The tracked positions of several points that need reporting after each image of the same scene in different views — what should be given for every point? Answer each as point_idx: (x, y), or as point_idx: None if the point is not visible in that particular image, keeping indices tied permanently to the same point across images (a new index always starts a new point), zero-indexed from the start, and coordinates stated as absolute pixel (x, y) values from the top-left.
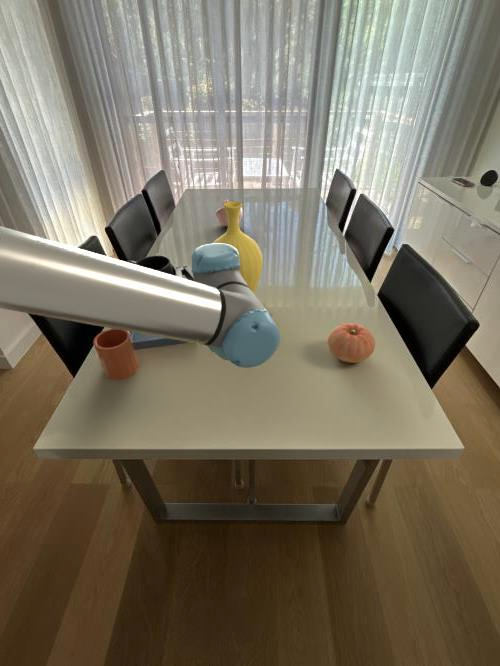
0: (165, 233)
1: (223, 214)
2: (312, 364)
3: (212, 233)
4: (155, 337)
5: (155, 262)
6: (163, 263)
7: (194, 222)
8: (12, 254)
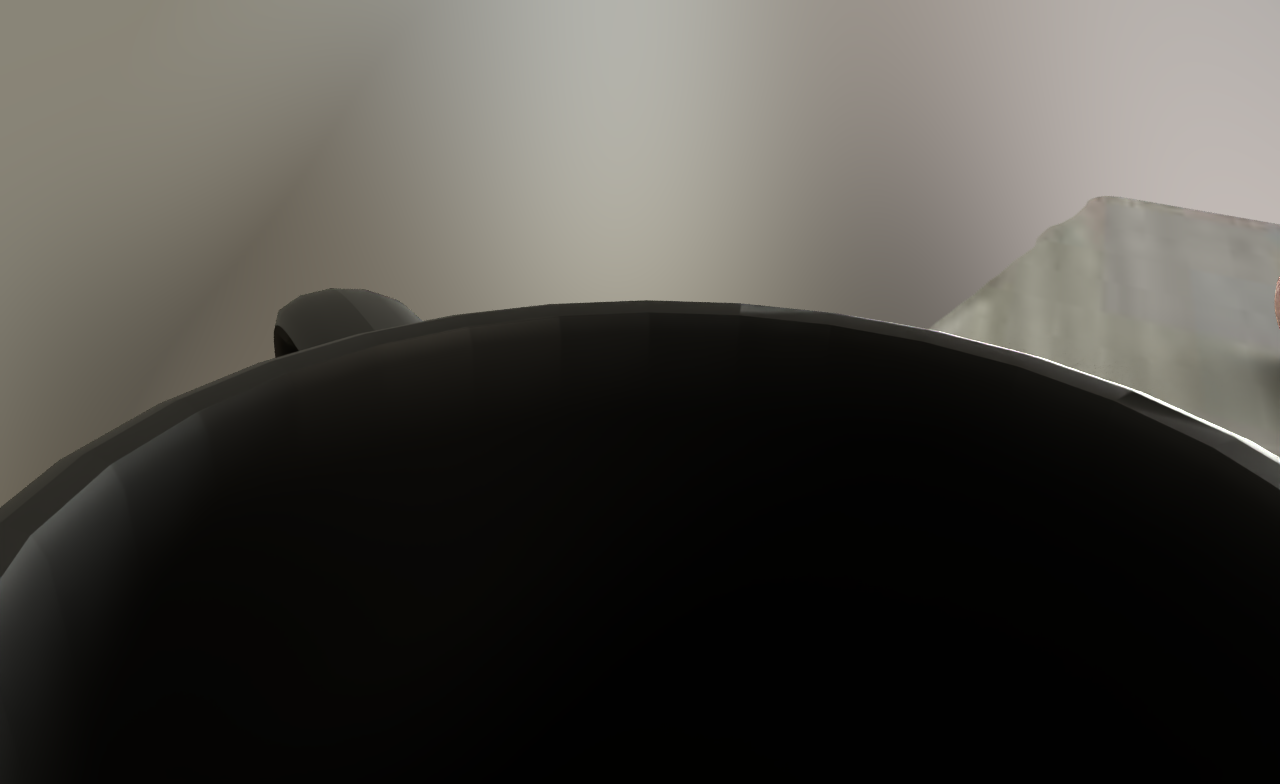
0: (947, 316)
1: None
2: None
3: (1231, 385)
4: None
5: (836, 484)
6: (1035, 581)
7: (1114, 307)
8: None
